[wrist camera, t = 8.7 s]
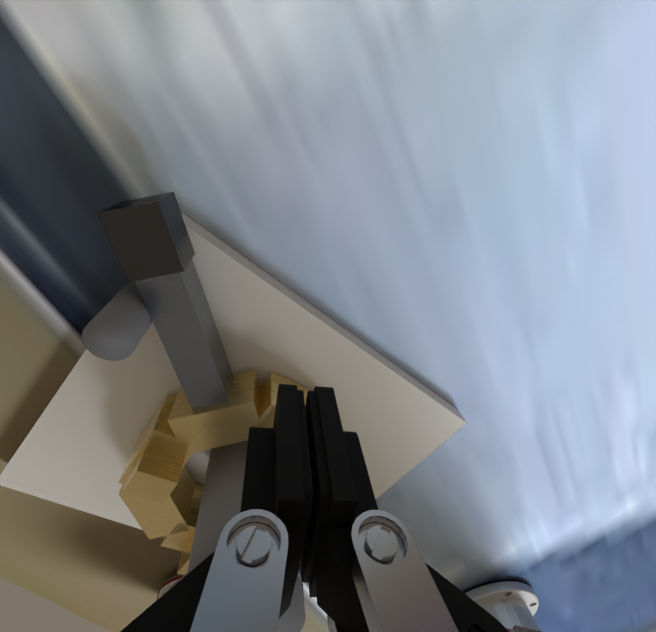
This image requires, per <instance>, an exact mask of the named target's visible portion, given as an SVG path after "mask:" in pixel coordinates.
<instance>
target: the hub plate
mask: <svg viewBox="0 0 656 632" xmlns="http://www.w3.org/2000/svg"><path fill="white" fill-rule="evenodd" d="M181 215H182V217H183V220H184V223H185V226H186V229H187V232H188V235H189V238H190V240H191V243H192V246H193V249H194V252H195V255H194V256H193V258H192V260H193V263H194V266H195V268H196V271H197V274H198V277H199V280H200V283H201V285H202V288H203V291H204V294H205V297H206V299H207V302H208V305H209V308H210V311H211V313H212V316H213V319H214V322H215V325H216V328H217V330H218V333H219V336H220V339H221V342H222V344H223V347H224V350H225V353H226V356H227V359H228V361H229V364H230V367H231V370H232V373H233V374H236V373H241V372H246V371H250V370H255V369H256V372H257V375H258V379H259V382H260V385H261V384H262V383H263V381H264V380H265V379H266V377H267V376H268V375H269V373H270V372H271V371H272V372H274V373H276V374H278V375H280V376H282V377H285V378H287V379H289V380H291V381H293V382H295V383H297V384H299V385H301V386H303V387H305V388H307V389H310V390H312V391H314V388H315V386H319V387H332V388H333V389H334V393H335V397H336V402H337V406H338V410H339V414H340V418H341V422H342V426H343V430H344V431H350V432H356V433H357V435H358V437H359V441H360V445H361V448H362V452H363V456H364V459H365V463H366V467H367V470H368V474H369V478H370V481H371V485H372V489H373V492H374V496H375V500H376V499H377V498H379V497H380V496H381V495H382V494H383V493H385V492H386V491H387V490H388V489H389V488H390V487H392V486H393V485H394V484H395V483H396V482H398V481H399V480H400V479H401V478H402V477H403V476H405V475H406V474H407V473H408V472H409V471H411V470H412V469H413V468H414V467H415V466H417V465H418V464H419V463H420V462H421V461H422V460H424V459H425V458H426V457H427V456H428V455H430V454H431V453H432V452H433V451H434V450H435V449H437V448H438V447H439V446H440V445H441V444H443V443H444V442H445V441H446V440H447V439H448V438H450V437H451V436H452V435H453V434H454V433H456V432H457V431H458V430H459V429H460V428H461V427H463V426H464V425H465V424H466V423H467V422H466V421H465V419H464V418H463V416H462V415H461V414H460V412H459V411H458V409H456V408H455V407H454V406H452V405H451V404H449V403H448V402H447V401H445V400H444V399H442V398H441V397H440V396H438V395H437V394H435V393H434V392H433V391H431V390H430V389H428V388H427V387H426V386H424V385H423V384H422V383H420V382H419V381H417V380H416V379H415V378H413V377H412V376H410V375H409V374H408V373H406V372H405V371H403V370H402V369H401V368H399V367H398V366H396V365H395V364H394V363H392V362H391V361H389V360H388V359H387V358H385V357H384V356H382V355H381V354H380V353H378V352H377V351H375V350H374V349H373V348H371V347H370V346H368V345H367V344H366V343H364V342H363V341H361V340H360V339H359V338H357V337H356V336H354V335H353V334H352V333H350V332H349V331H347V330H346V329H345V328H343V327H342V326H340V325H339V324H338V323H336V322H335V321H333V320H332V319H331V318H329V317H328V316H326V315H325V314H324V313H322V312H321V311H319V310H318V309H317V308H315V307H314V306H312V305H311V304H310V303H308V302H307V301H305V300H304V299H303V298H301V297H300V296H298V295H297V294H296V293H294V292H293V291H291V290H290V289H289V288H287V287H286V286H284V285H283V284H282V283H280V282H279V281H277V280H276V279H275V278H273V277H272V276H270V275H269V274H268V273H266V272H265V271H263V270H262V269H261V268H259V267H258V266H256V265H255V264H254V263H252V262H251V261H249V260H248V259H247V258H245V257H244V256H242V255H241V254H240V253H238V252H237V251H235V250H234V249H233V248H231V247H230V246H228V245H227V244H226V243H224V242H223V241H221V240H220V239H219V238H217V237H216V236H214V235H213V234H212V233H210V232H209V231H207V230H206V229H205V228H203V227H202V226H200V225H199V224H198V223H196V222H195V221H193V220H192V219H191V218H189V217H188V216H186V215H185V214H184V213H181ZM82 340H83V343H84V345H85V347H86V348H87V349H86V350H85V352H84V353H83V355H82V356H81V357H80V359H79V360H78V362H77V363H76V365H75V366H74V368H73V369H72V371H71V372H70V374H69V375H68V376H67V378H66V379H65V381H64V382H63V384H62V385H61V387H60V388H59V390H58V391H57V393H56V394H55V396H54V397H53V398H52V400H51V401H50V403H49V404H48V406H47V407H46V409H45V410H44V412H43V413H42V415H41V416H40V417H39V419H38V420H37V422H36V423H35V425H34V426H33V428H32V429H31V431H30V432H29V434H28V435H27V437H26V438H25V439H24V441H23V442H22V444H21V445H20V447H19V448H18V450H17V451H16V453H15V454H14V456H13V457H12V459H11V460H10V461H9V463H8V464H7V466H6V467H5V469H4V470H3V472H2V473H1V475H0V485H1V486H4V487H8V488H11V489H14V490H17V491H20V492H23V493H27V494H30V495H33V496H36V497H39V498H43V499H46V500H49V501H52V502H55V503H58V504H62V505H65V506H68V507H71V508H74V509H77V510H81V511H84V512H87V513H90V514H93V515H97V516H100V517H103V518H106V519H109V520H112V521H116V522H119V523H122V524H125V525H128V526H131V527H135V528H138V529H141V530H143V529H142V528H141V526H140V525H139V524H138V522H137V521H136V519H135V518H134V516H133V515H132V513H131V512H130V510H129V509H128V507H127V506H126V504H125V503H124V502H123V500H122V499H121V497H120V496H119V492H120V489H121V487H122V485H123V484H120V483H118V482H119V480H120V478H121V475H122V473H123V471H124V469H125V466H126V464H127V462H128V459H129V457H130V455H131V453H132V450H133V448H134V446H135V443H136V442H137V440H138V439H139V437H140V435H141V434H142V432H143V431H144V429H145V428H146V426H147V425H148V423H149V422H150V420H151V418H152V417H153V415H154V414H155V412H156V411H157V409H158V408H159V406H160V405H161V403H162V401H163V400H164V398H165V397H166V395H167V394H171V395H173V396H177V393H178V390H179V387H180V385H181V384H180V382H179V379H178V377H177V375H176V373H175V370H174V368H173V366H172V364H171V361H170V359H169V357H168V355H167V353H166V350H165V348H164V346H163V344H162V341H161V339H160V337H159V335H158V333H157V330H156V328H155V326H154V324H153V321H152V319H151V317H150V315H149V313H148V310H147V308H146V306H145V304H144V301H143V299H142V297H141V295H140V293H139V290H138V288H137V286H136V284H135V281H133V282H128V283H127V284H126V285H125V286H124V287H123V288H122V289H121V290H120V291H119V292H118V293H117V294H116V295H115V296H114V297H113V298H112V299H111V300H110V301H109V302H108V303H107V305H106V306H105V307H104V308H103V309H102V310H101V311H100V312H99V313H98V314H97V315H96V316H95V317H94V318H93V319H92V320H91V321H90V322H89V323H88V324H87V325H86V327H85V328H84V330H83V332H82ZM247 446H248V440H247V441H243V442H238V443H234V444H229V445H225V446H220V447H216V448H211V449H207V450H202V451H198V452H194V453H193V455H192V456H191V458H190V459H189V460H188V462H187V463H186V466H187V468H188V470H189V472H190V474H191V476H192V478H193V480H194V482H195V484H196V485H200V486H203V492H202V498H201V503H200V508H199V513H198V518H197V524H196V529H195V534H194V539H193V544H192V550H191V555H190V560H189V565H188V570H187V574H188V573H190V572H191V571H192V570H193V569H194V568H195V567H197V566H198V565H199V564H200V563H201V562H202V561H204V560H205V559H206V558H207V557H208V556H209V555H211V554H212V553H213V552H214V551H215V550H216V547H217V544H218V541H219V538H220V535H221V533H222V531H223V529H224V527H225V525H226V524H227V523H228V522H229V521H230V520H231V519H232V518H233V517H234V516H236V515H238V514H239V513H240V510H241V500H242V491H243V482H244V473H245V464H246V455H247ZM187 574H185V575H184V576H182V577H181V578H180V579H179V580H177V581H176V582H175V583H174V584H173V585H172V587H173V586H174V585H176V584H177V583H178V582H179V581H180V580H181V579H183V578H184V577H185V576H186V575H187ZM172 587H171V588H172ZM171 588H170V589H171ZM304 623H305V608H304V594H303V584H302V581H301V579H300V577H299V576H298V575H297V580H296V582H295V586H294V591H293V596H292V600H291V605H290V607H289V608H288V609H287V610H286V612H285V613H284V614H283V615H282V616H281V618H280V619H279V621H278V629H277V632H300V631H301V629H302V628H303V625H304Z"/></svg>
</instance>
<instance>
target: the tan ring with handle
mask: <svg viewBox="0 0 656 632" xmlns="http://www.w3.org/2000/svg"><path fill="white" fill-rule="evenodd" d="M97 214H98V216H99V219H100V221H101V223H102V225H103V227H104V230H105V232H106V234H107V236H108V238H109V240H110V243H111V245H112V247H113V249H114V251H115V254H116V256H117V258H118V260H119V262H120V264H121V267H122V269H123V271H124V273H125V275H126V278H127V280H128V282H133V281H135V284H136V286H137V288H138V290H139V293H140V295H141V297H142V299H143V301H144V304H145V306H146V308H147V310H148V313H149V315H150V317H151V319H152V321H153V324H154V326H155V328H156V330H157V333H158V335H159V337H160V339H161V341H162V344H163V346H164V348H165V350H166V353H167V355H168V357H169V359H170V361H171V364H172V366H173V368H174V370H175V373H176V375H177V377H178V379H179V382H180V384H181V385H180V387H179V390H178V393H177V396H173V395H171V394H167V395H166V397H165V398H164V400H163V401H162V403H161V405H160V406H159V408H158V409H157V411H156V412H155V414H154V415H153V417H152V418H151V420H150V422H149V423H148V425H147V426H146V428H145V429H144V431H143V432H142V434H141V435H140V437H139V439H138V440H137V442H136V443H135V446H134V448H133V450H132V453H131V455H130V457H129V459H128V462H127V464H126V466H125V469H124V471H123V473H122V475H121V478H120V480H119V482H118V483H120V484H123V485H122V487H121V489H120V492H119V496H120V497H121V499H122V500H123V502H124V503H125V504H126V506H127V507H128V509H129V510H130V512H131V513H132V515H133V516H134V518H135V519H136V521H137V522H138V524H139V525H140V526H141V528H142V529H143V531H144V532H145V534H146V535H147V537H148V538H149V540H150V539H154V538H158V537H162V536H163V538H162V541H161V545H160V546H162V547H167V548H171V549H175V550H179V551H182V552H181V556H180V561H179V566H178V570H177V574H181V575H185V574H187V570H188V565H189V560H190V555H191V550H192V544H193V539H194V534H195V529H196V524H197V518H198V513H199V508H200V503H201V498H202V492H203V486H200V485H196V484H195V482H194V480H193V478H192V476H191V474H190V472H189V470H188V468H187V466H186V463H187V462H188V460H189V459H190V458H191V456H192V455H193V453H194V452H198V451H202V450H207V449H211V448H216V447H220V446H225V445H229V444H234V443H238V442H243V441H247V440H248V437H249V428H250V427H262V428H273V422H274V415H275V407H276V400H277V393H278V386H279V384H289V385H297V390H303V392H304V402H305V404H306V398H307V393H308V391H312V390H310V389H307V388H305V387H303V386H301V385H299V384H297V383H295V382H293V381H291V380H289V379H287V378H285V377H282V376H280V375H278V374H276V373H274V372H272V371H271V372H270V373H269V375H268V376H267V377H266V379H265V380H264V381H263V383H262V384H261V385H260V382H259V379H258V375H257V372H256V369H255V370H250V371H246V372H241V373H236V374H233V373H232V370H231V367H230V364H229V361H228V359H227V356H226V353H225V350H224V347H223V344H222V342H221V339H220V336H219V333H218V330H217V328H216V325H215V322H214V319H213V316H212V313H211V311H210V308H209V305H208V302H207V299H206V297H205V294H204V291H203V288H202V285H201V283H200V280H199V277H198V274H197V271H196V268H195V266H194V263H193V260H192V258H193V256H194V255H195V252H194V249H193V246H192V243H191V240H190V238H189V235H188V232H187V229H186V226H185V223H184V220H183V217H182V215H181V212H180V209H179V206H178V203H177V200H176V197H175V194H174V192H171V193H166V194H160V195H155V196H150V197H144V198H139V199H133V200H128V201H123V202H120V203H117V204H115V205H113V206H111V207H109V208H107V209H104V210H102V211H100V212H98V213H97ZM338 411H339V410H338ZM339 415H340V414H339ZM340 420H341V418H340ZM341 424H342V422H341ZM342 429H343V426H342ZM343 431H344V430H343Z"/></svg>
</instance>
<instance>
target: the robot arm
mask: <svg viewBox="0 0 656 632" xmlns="http://www.w3.org/2000/svg"><path fill="white" fill-rule="evenodd" d="M300 565H301V580H302V582H309V593H310V597H317V604H318V605H319V607H320V608H321V609H322V610H323V611H324V612H325V613H326V614H327V618H328V627H329V632H541V630H540V629H539V627H538V625H537V623H536V621H535V619H534V618H533V615H534V614H535V613H536V611H537V609H538V604H539V601H538V598H537V596H536V594H535V592H534V591H533V589H532V588H531V587H530V586H529V585H526V584H524V583H521V582H516V581H503V582H495V583H490V584H487V585H483V586H480V587H477V588H475V589H472V590H470V591H468V592H466V593H463V592H462V591H461V590H459V589H458V588H457V587H455V586H454V585H453V584H452V583H450V582H449V581H448V580H447V579H445V578H444V577H443V576H441V575H440V574H439V573H438V572H436V571H435V570H434V569H433V568H431V567H430V566H429V565H428V564H426V563H425V561H424V559H423V557H422V555H421V553H420V551H419V549H418V547H417V545H416V543H415V541H414V539H413V537H412V535H411V533H410V531H409V530H408V528H407V527H406V525H405V524H404V523H403V522H402V521H401V520H399V519H398V518H397V517H395V516H394V515H392V514H390V513H388V512H385V511H382V510H378V507H377V503H376V500H375V496H374V492H373V489H372V485H371V481H370V478H369V474H368V470H367V467H366V463H365V459H364V456H363V452H362V448H361V445H360V441H359V437H358V435H357V433H356V432H350V431H343V429H342V424H341V420H340V415H339V411H338V406H337V402H336V397H335V393H334V389H333V388H332V387H319V386H315V388H314V391H308V393H307V398H306V404H305V402H304V392H303V390H297V385H289V384H279V386H278V393H277V400H276V407H275V415H274V422H273V428H262V427H250V428H249V437H248V446H247V455H246V464H245V473H244V482H243V491H242V500H241V510H240V513H239V514H238V515H236V516H234V517H233V518H232V519H231V520H230V521H229V522H228V523H227V524H226V525H225V527H224V529H223V531H222V533H221V535H220V538H219V541H218V544H217V547H216V550H215V551H214V552H213V553H212V554H211V555H209V556H208V557H207V558H206V559H205V560H204V561H202V562H201V563H200V564H199V565H198V566H197V567H195V568H194V569H193V570H192V571H191V572H190V573H188V574H187V575H186V576H185V577H184V578H183V579H181V580H180V581H179V582H178V583H177V584H176V585H174V586H173V587H172V588H171V589H170V590H168V591H167V592H166V593H165V594H164V595H163V596H161V597H160V598H159V599H158V600H157V601H156V602H154V603H153V604H152V605H151V606H150V607H149V608H147V609H146V610H145V611H144V612H143V613H142V614H140V615H139V616H138V617H137V618H136V619H135V620H133V621H132V622H131V623H130V624H129V625H128V626H126V627H125V628H124V629H123V630H122V631H121V632H277V629H278V621H279V619H280V618H281V616H282V615H283V614H284V613H285V612H286V610H287V609H288V608H289V607H290V605H291V600H292V596H293V591H294V586H295V582H296V580H297V575H298V571H299V566H300Z"/></svg>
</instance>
